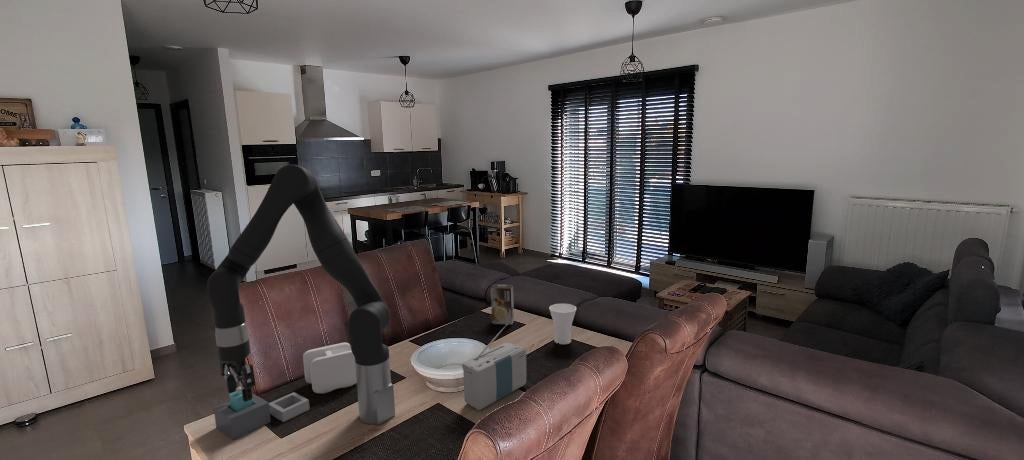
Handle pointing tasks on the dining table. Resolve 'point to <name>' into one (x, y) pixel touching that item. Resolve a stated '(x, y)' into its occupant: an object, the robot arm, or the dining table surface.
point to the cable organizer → (330, 367)
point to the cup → (562, 321)
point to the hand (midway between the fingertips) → (240, 395)
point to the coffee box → (502, 304)
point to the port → (242, 417)
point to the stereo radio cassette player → (494, 374)
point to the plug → (238, 400)
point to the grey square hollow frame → (290, 412)
